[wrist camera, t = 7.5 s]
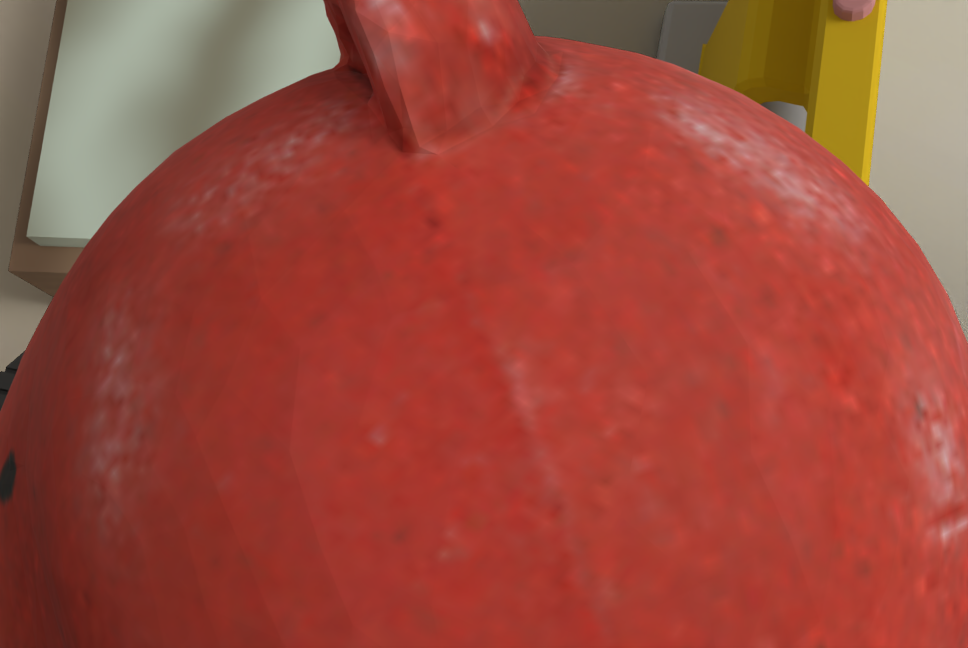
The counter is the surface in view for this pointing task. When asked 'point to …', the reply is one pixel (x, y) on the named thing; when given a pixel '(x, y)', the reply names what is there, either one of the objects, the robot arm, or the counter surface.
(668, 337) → the stacking bear
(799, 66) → the toy computer monitor
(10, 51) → the counter surface
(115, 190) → the plinth
